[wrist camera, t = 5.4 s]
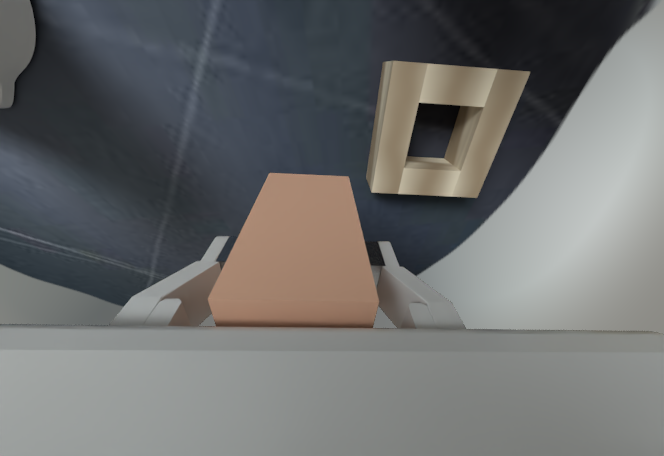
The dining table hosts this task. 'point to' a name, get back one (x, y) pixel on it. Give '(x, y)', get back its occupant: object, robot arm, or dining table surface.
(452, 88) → the socket block
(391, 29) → the dining table surface
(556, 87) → the dining table surface
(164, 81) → the dining table surface
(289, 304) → the peg
